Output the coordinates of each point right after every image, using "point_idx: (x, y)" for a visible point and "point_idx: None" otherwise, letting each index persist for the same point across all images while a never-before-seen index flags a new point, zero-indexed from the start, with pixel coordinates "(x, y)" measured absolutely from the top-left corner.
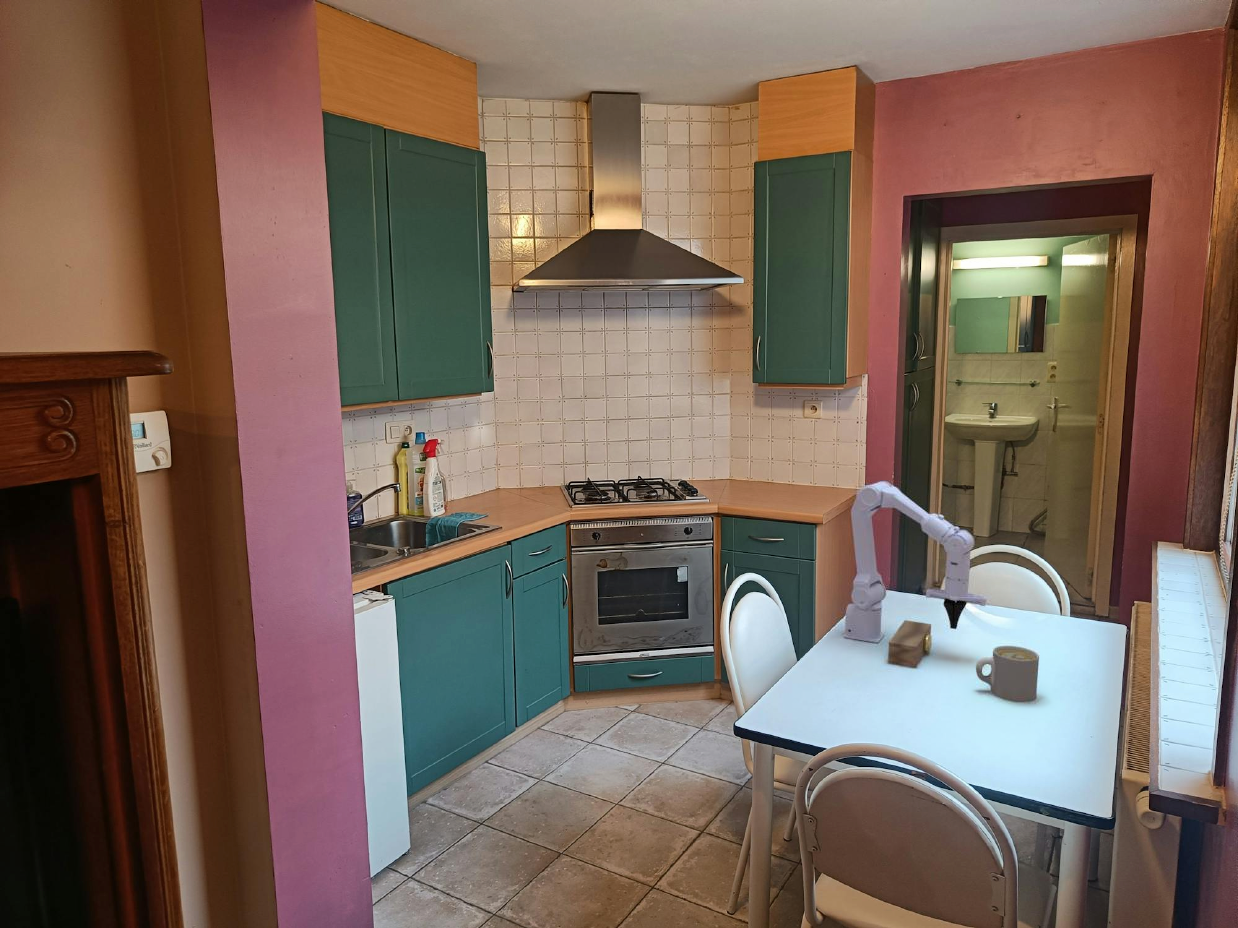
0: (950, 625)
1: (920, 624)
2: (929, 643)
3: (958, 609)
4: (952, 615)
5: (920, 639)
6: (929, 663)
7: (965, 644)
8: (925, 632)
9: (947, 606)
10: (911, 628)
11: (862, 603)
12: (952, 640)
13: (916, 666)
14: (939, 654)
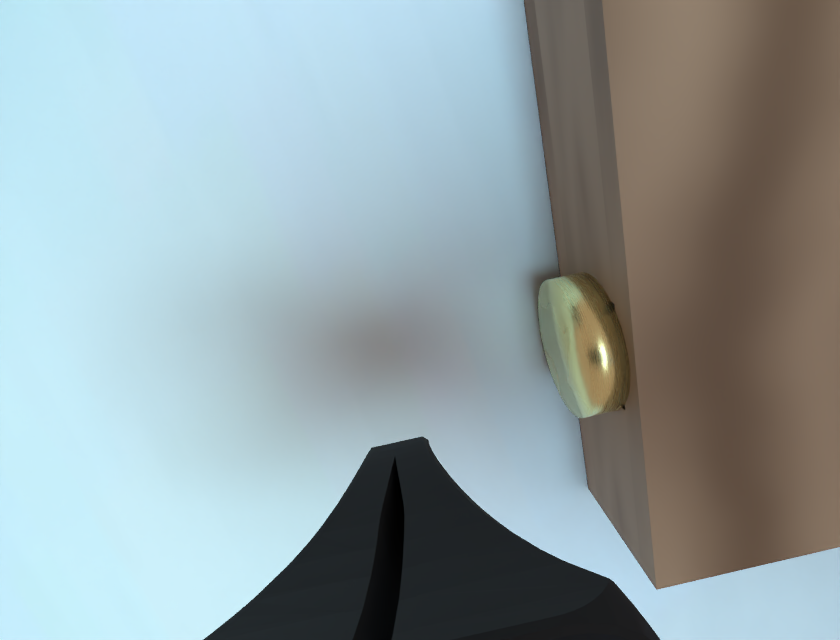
0: (424, 443)
1: (727, 532)
2: (561, 333)
3: (269, 633)
4: (408, 524)
5: (626, 161)
6: (473, 148)
7: None
8: (640, 380)
9: (526, 596)
10: (771, 396)
11: None
12: None
13: (524, 1)
14: (480, 358)
